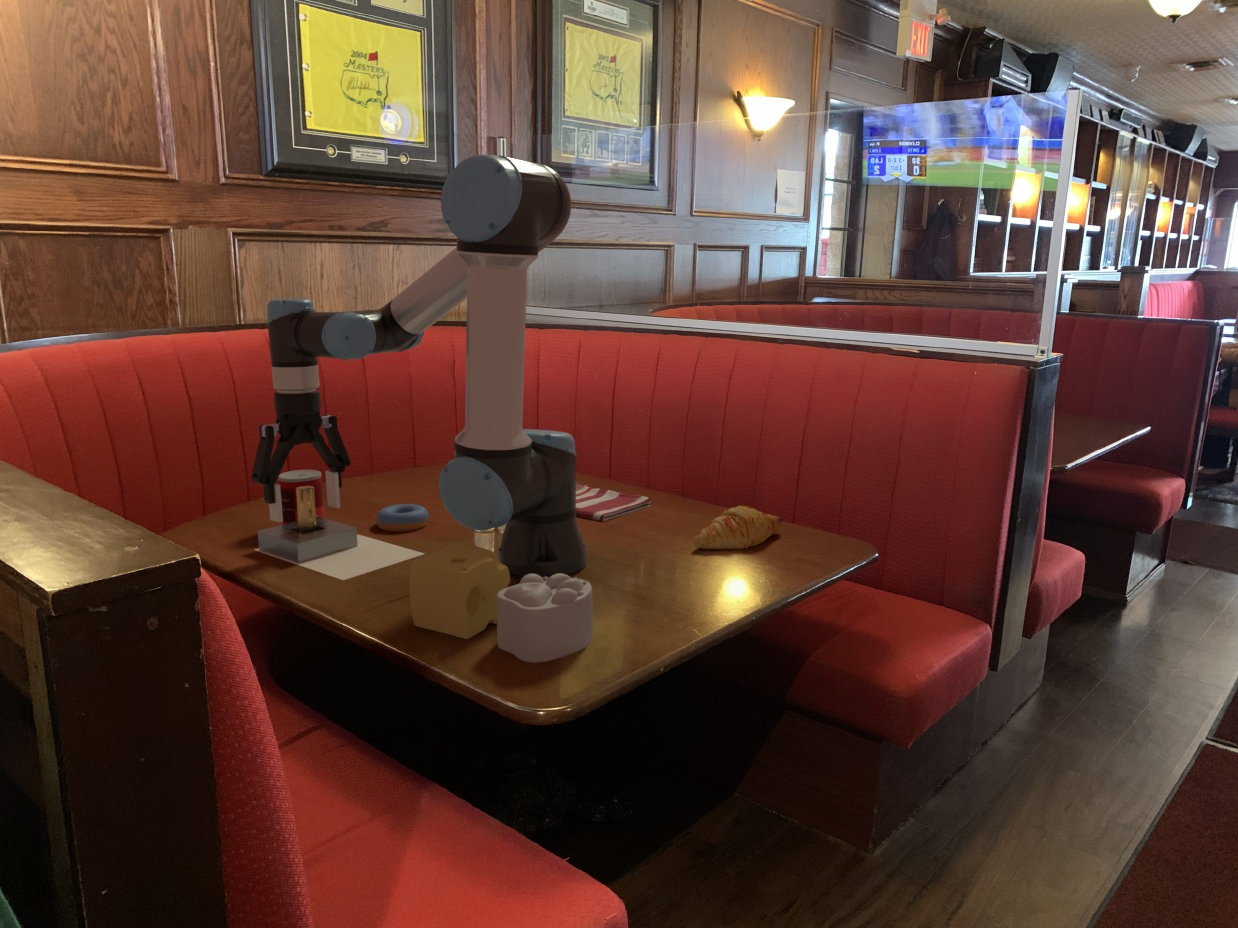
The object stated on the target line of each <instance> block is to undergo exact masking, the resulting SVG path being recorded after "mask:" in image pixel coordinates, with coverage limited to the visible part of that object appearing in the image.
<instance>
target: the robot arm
mask: <svg viewBox="0 0 1238 928" xmlns="http://www.w3.org/2000/svg"><path fill="white" fill-rule="evenodd" d="M440 210H441V211H440V212H441V215H442V218H443V221H444V223H445V224H447V226H448V230H449V231H450V232H451V233H452V234H453V235H454V236H455V237H456V247H455V248H454V249H452V250H451V251H450V252H448V253H446V255H445V256H443V257H442V258H441V259H439V261H437V262H436V263H435V264H434V265H433V266H431V267H430V268H429V269H427V270H426V271H425V272H424V273H422V274H421V276H419V277H418V278H417V279H415V280H414V281H413V282H412V283H410V284H409V285H408V286H407V287H405V289H403V290H401V291H400V293H399V294H397V295H396V296H395V297H394V298H393V299H391V300H390V301H388V302H387V303H386V304H385V305H384V306H382V307H380V308H379V309H367V310H350V311H316V309H315V306H314V302H313V300H311V299H309V298H276V299H271V300H269V301H268V302H267V309H266V311H267V312H266V313H267V314H266V317H267V320H266V321H267V322H266V327H267V330H268V331H267V333H268V344H269V352H270V363H271V365H270V366H271V374H272V385H273V386H272V387H273V389H274V390H276V391H275V392H274V393H273V403H274V413H275V415H276V420H275V423H272V424H264V423H261V424H260V425H259V426H258V429H259V430H258V432H259V442H258V446H257V450H256V455H255V459H254V464H253V467H252V472H251V477H250V480H251V481H252V482H253V483H255V484H256V483H257V484H260V485H262V487H263V489H262V490H263V499H264V503H266V504H268V508H269V509H268V510H269V519H270V521H274V522H277V523H282V522H283V514H282V502H281V490H280V485H279V483H276V482H277V480H278V476H279V475H280V474H281V471H282V470H283V467H284V466H285V463H286V461H287V458H289V454H290V452H291V451H292V450H293V449H294V448H295V446H298V445H299V446H300V445H302V444H305V443H306V444H311V446H312V447H313V448H314V450H316V452H317V453H318V455H319V456H320V457H321V459H322V461H323V462H324V463H325V464H326V466H327V467H328V469H329V470H325V471H324V473H325V484H326V485H325V487H326V499H327V500H326V501H327V507H330V508H335V509H339V508H341V498H340V489H342V487H343V480H342V476H343V475H342V473H343V472H345V470H346V467H349V466H351V463H352V462H351V460H350V457H349V454H348V452H347V449H346V446H345V444H344V442H343V439H342V436H341V434H340V431H339V428H338V418H337V416H335V415H330V414H324V415H323V416H322V415H321V413H320V411H321V410H322V405H321V392H320V391H319V390H318V389H317V388H319V387H320V385H321V384H320V375H319V364H318V358H327V359H328V358H329V359H340V360H341V361H348V360H361V359H365V358H366V357H367V356H369V355H376V354H386V353H387V354H388V353H400V352H405V351H407V350H411V349H414V348H416V347H417V346H419V344H421V342H422V339H423V337H424V333H425V331H426V330H427V329H429V328H430V327H431V326H433V325H434V324H435V323H437V322H438V321H440V320H441V318H443V317H445V316H446V315H448V313H450V312H451V311H453V310H454V309H455V308H456V307H458V306H459V305H460V304H461V303H463V302H465V300H466V330H465V331H466V333H465V335H466V339H465V340H466V341H465V342H466V343H465V344H466V345H465V346H466V347H465V351H466V352H465V353H466V354H465V407H464V408H465V412H464V413H465V414H464V415H465V416H464V417H465V418H464V423H465V424H464V427H463V429H462V430H460V432H459V433H458V434H457V435H456V436H454V453H453V454H454V458H453V459H450V460H449V461H448V462H447V463H446V465H445V466H444V467H443V468H442V470H441V472H440V474H439V479H438V490H439V491H438V492H439V497H440V499H441V501H442V505H443V506H444V508H445V510H446V512H447V513H450V515H451V516H452V519H454V520H455V521H456V522H457V523H458V524H460V525H461V526H463V527H465V528H466V529H470V530H474V531H488V530H490V529H494V528H500V527H503V526H505V527H504V530H503V534H502V537H501V542H500V545H499V547H498V550H497V558H498V559H499V561H500V562H501V563H502V564H503V565H505V566H507V568H508V570H509V574H510V575H514V576H518V577H524V576H525V575H527V574H537V575H539V576H541V577H542V578H543V577H548V578H549V577H551V576H552V575H554V574H557V573H562V574H566V575H569V574H573V573H575V572H578V571H579V570H582V569H583V568H585V567H586V565H587V562H588V561H587V560H588V559H587V556H588V555H587V548H586V546H585V544H584V542H583V538H582V534H581V532H580V528H579V525H578V520H577V516H576V482H577V479H576V478H577V473H576V472H577V466H576V464H577V461H576V459H577V453H576V442H575V441H576V440H575V438H574V436H573V435H571V434H570V433H568V432H563V431H557V430H547V429H546V430H545V429H532V428H531V429H527V428H523V419H524V418H523V417H524V415H523V414H524V413H523V412H524V411H523V410H524V382H525V380H524V379H525V355H526V354H525V349H526V347H525V345H526V317H527V316H526V315H527V314H526V313H527V283H528V282H527V281H528V279H527V278H528V269H529V267H530V266H531V265H532V264H533V263H534V262H535V261H536V260H537V259H538V258H539V253H540V252H541V251H542V250H543V249H545V248H546V247H548V246H549V245H550V244H551V243H552V242H554V241H555V240H556V239H557V238H558V237H559V236H561V234H562V233H563V231H564V230H565V228H566V227H567V224H568V223H569V220H570V217H571V213H572V197H571V194H570V189H569V187H568V185H567V183H566V182H565V180H564V179H563V177H562V176H561V175H560V174H559V173H558V172H557V171H555V169H553V168H551V167H549V166H548V165H545V164H543V163H541V162H540V163H539V162H534V161H527V160H522V159H518V158H514V157H509V156H504V155H498V154H475V155H472V156H468V157H466V158H465V159H463V160H462V161H460V162H459V163H458V164H457V165H455V167H454V169H452V170H451V171H450V173H449V174H448V175H447V178H446V179H445V181H444V183H443V187H442V191H441V195H440ZM321 427H322V428H323V430H324V433H325V436H326V438H327V441H328V444H329V445H330V447H331V448H330V447H329V446H328V444H327V443H326V442H325V437H323V435H322V434H321V432H320V429H321ZM278 433H279V437H278V439H277V441H276V443H275V437H276V436H277V435H278ZM274 445H276V446H275V449H274ZM273 449H274V450H273Z"/></svg>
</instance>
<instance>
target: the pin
mask: <svg viewBox="0 0 1238 928" xmlns="http://www.w3.org/2000/svg"><path fill="white" fill-rule="evenodd" d="M296 495H297V511H298V526H299V533H301V534H307V533H311V532H315V531H317V528H316V511H315V495H314V487H313V486H301V487H297V488H296Z"/></svg>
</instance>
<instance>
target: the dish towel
mask: <svg viewBox="0 0 1238 928" xmlns="http://www.w3.org/2000/svg"><path fill="white" fill-rule="evenodd" d="M649 507H651V499H650V498H649V497H647V496H644V495H641V494H636V493H630V492H629V493H628V492H617V491H615V490H611V489H610V490H609V489H605V488H593V487H590V486H586V485H583V484H582V485H581V484H580V483H579V482H578V481H576V517H581V518H586V519H590V520H595V521H600V522H606V521H609V520H612V519H615V518H619V517H623V516H625V515H627V514H628V515H629V514H630V513H634V512H637V511H639V510H643V509H647V508H649Z"/></svg>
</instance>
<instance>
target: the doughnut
mask: <svg viewBox="0 0 1238 928" xmlns="http://www.w3.org/2000/svg"><path fill="white" fill-rule="evenodd" d="M429 516H430V515H429V512H428V510H427V508H425V507H424V506H422V505H419V504H414V503H400V504H393V505H389V506H386V507H383V508H382V509H379V511H378V512H377V514H376V517H375V518H376V521H375V522H376V525H377V527H378V528H379V530H382V531H385V532H393V533H395V532H396V533H399V532H400V533H401V532H402V533H403V532H411V531H417V530H419V529H422V528H425V527H426V526H427V525H428V524H429V518H430V517H429Z"/></svg>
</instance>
